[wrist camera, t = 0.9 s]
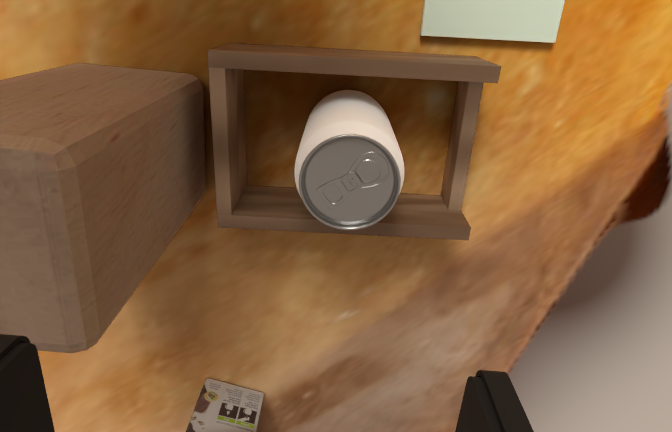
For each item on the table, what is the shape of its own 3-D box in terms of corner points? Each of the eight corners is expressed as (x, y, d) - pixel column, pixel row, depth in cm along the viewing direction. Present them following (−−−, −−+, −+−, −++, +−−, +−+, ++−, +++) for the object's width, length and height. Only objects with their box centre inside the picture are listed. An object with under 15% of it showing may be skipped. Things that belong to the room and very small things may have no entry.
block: (206, 72, 35) (57, 147, 17) (209, 196, 39) (92, 364, 21) (71, 60, 35) (-228, 122, 17) (88, 185, 39) (-137, 346, 21)
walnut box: (229, 43, 34) (207, 50, 29) (475, 56, 34) (500, 66, 29) (235, 195, 39) (217, 227, 34) (451, 207, 39) (468, 240, 34)
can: (404, 142, 37) (430, 199, 26) (336, 184, 39) (333, 256, 28) (360, 71, 35) (368, 102, 24) (289, 119, 36) (267, 168, 25)
